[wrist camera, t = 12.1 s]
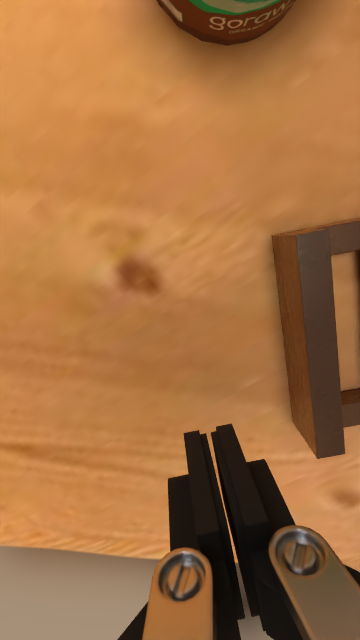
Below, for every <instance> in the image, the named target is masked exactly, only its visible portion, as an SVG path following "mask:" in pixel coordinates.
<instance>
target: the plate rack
mask: <svg viewBox="0 0 360 640" xmlns="http://www.w3.org/2000/svg"><path fill="white" fill-rule="evenodd" d="M272 242H273V251H274V259H275V268H276V277H277V286H278V295H279V304H280V312H281V321H282V330H283V339H284V348H285V356H286V365H287V374H288V383H289V392H290V401H291V409H292V418H293V423H294V424H295V426H296V427H297V429H298V430H299V432H300V433H301V435H302V436H303V438H304V439H305V441H306V442H307V444H308V445H309V447H310V448H311V450H312V451H313V453H314V454H315V456H316V457H317V459H319V458H325V457H331V456H336V455H342V454H345V445H344V431H343V428H344V427H350V426H355V425H360V389H355V390H350V391H344V392H341V390H340V376H339V362H338V349H337V335H336V321H335V307H334V294H333V280H332V266H331V255H336V254H341V253H346V252H352V251H357V250H360V219H355V220H350V221H344V222H339V223H334V224H329V225H323V226H318V227H313V228H307V229H302V230H297V231H291V232H286V233H281V234H275V235H272Z"/></svg>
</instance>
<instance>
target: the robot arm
mask: <svg viewBox="0 0 360 640" xmlns="http://www.w3.org/2000/svg"><path fill="white" fill-rule="evenodd" d="M211 436H212V441H213V447H214V452H215V458H216V463H217V468H218V474H219V479H220V484H221V490H222V495H223V500H224V505H225V509H226V513H227V517H228V521H229V526H230V530H231V534H232V538H233V542H234V546H235V550H236V555H237V559H238V563H239V567H240V571H241V575H242V579H243V584H244V588H245V592H246V596H247V600H248V604H249V608H250V612H251V616H252V617H254V616H258V615H259V616H260V620H261V623H262V627H263V631H266V633H267V635H268V636H270V637H271V638H273V639H274V640H360V572H358V571H356V570H354V569H352V568H350V567H348V566H346V565H344V564H343V563H342V562H341V560H340V559H339V558H338V556H337V555H336V554H335V552H334V551H333V550H332V548H331V547H330V545H329V544H328V543H327V541H326V540H325V539H324V538H323V537H322V536H321V535H320V534H319V533H317V532H315V531H314V530H312V529H310V528H307V527H304V526H297V525H295V523H294V520H293V518H292V516H291V514H290V512H289V510H288V508H287V505H286V503H285V501H284V499H283V497H282V495H281V493H280V490H279V488H278V486H277V484H276V482H275V480H274V478H273V475H272V473H271V471H270V469H269V467H268V465H267V463H266V461H265V460H264V459H261V460H256V461H251V462H246V460H245V457H244V455H243V452H242V449H241V447H240V444H239V442H238V439H237V436H236V434H235V431H234V428H233V426H232V424H227V425H222V426H217V427H216V431H215V432H211ZM184 440H185V448H186V456H187V464H188V472H189V474H187V475H183V476H178V477H173V478H168V499H169V526H170V552H169V553H168V554H166V555H165V556H164V557H163V558H162V559H161V560H160V561H159V563H158V565H157V566H156V568H155V570H154V574H153V577H152V583H151V589H150V595H149V601H148V602H147V604H146V605H145V606H144V607H143V609H142V610H141V611H140V612H139V614H138V615H137V616H136V617H135V619H134V620H133V621H132V622H131V624H130V625H129V626H128V627H127V629H126V630H125V631H124V632H123V634H122V635H121V636H120V637H119V639H118V640H241V637H240V632H239V627H238V622H237V620H239V619H244V618H245V615H244V609H243V605H242V599H241V594H240V588H239V582H238V577H237V572H236V566H235V561H234V556H233V550H232V545H231V540H230V534H229V530H228V525H227V520H226V516H225V512H224V507H223V503H222V499H221V495H220V490H219V486H218V482H217V478H216V473H215V469H214V465H213V461H212V457H211V452H210V448H209V444H208V440H207V435H206V433H205V434H200V433H199V430H198V431H193V432H188V433H184Z"/></svg>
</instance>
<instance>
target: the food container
mask: <svg viewBox="0 0 360 640" xmlns="http://www.w3.org/2000/svg"><path fill="white" fill-rule="evenodd" d="M157 1H158V3H159V5H160V6H161V7H162V8H163V9H164V11H165V12H166V13H167V14H168V15H169V16H170V17H171V19H172V20H173V21H174V22H175V23H176V24H177V26H178V27H180V28H182V29H183V30H185V31H187V32H188V33H190V34H192V35H193V36H195V37H197V38H198V39H200V40H202V41H206V42H212V43H217V44H223V45H232V44H238V43H244V42H248V41H250V40H253V39H255V38H258V37H260V36H261V35H263V34H264V33H266V32H267V31H269V30H270V29H272V28H273V27H274V26H275V25H276V24H277V23H278V22H279V21H280V20H281V19H282V18H283V17H284V15H285V14H286V13H287V12H288V11H289V9H290V8H291V6H292V5H293V3H294V2H295V0H157Z"/></svg>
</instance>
